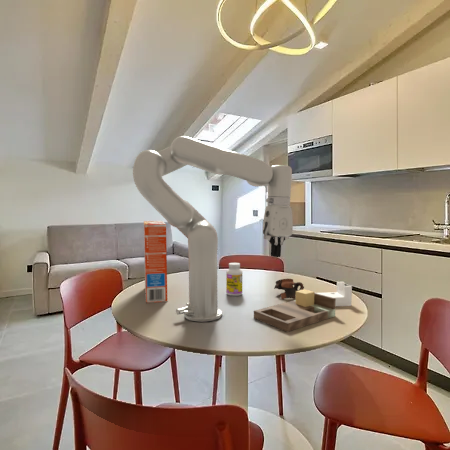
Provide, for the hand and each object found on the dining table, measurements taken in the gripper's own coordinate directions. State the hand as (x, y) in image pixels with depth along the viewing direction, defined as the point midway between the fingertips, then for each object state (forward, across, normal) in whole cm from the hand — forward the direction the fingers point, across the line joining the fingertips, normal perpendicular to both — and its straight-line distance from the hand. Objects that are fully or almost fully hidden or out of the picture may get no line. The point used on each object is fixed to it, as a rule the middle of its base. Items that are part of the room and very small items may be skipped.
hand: (275, 256), depth 117 cm
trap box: (+19, +4, -7) cm, 21 cm away
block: (+17, +11, -5) cm, 20 cm away
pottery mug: (+20, +20, +12) cm, 31 cm away
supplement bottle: (+21, +4, +27) cm, 34 cm away
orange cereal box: (+22, -22, +46) cm, 56 cm away
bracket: (+19, +26, -4) cm, 32 cm away
